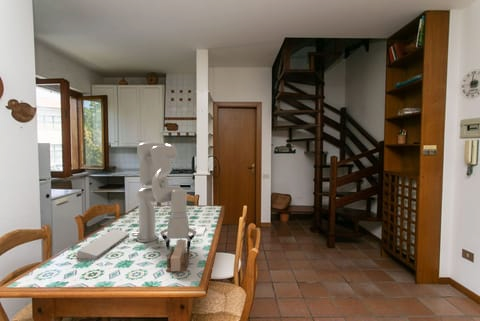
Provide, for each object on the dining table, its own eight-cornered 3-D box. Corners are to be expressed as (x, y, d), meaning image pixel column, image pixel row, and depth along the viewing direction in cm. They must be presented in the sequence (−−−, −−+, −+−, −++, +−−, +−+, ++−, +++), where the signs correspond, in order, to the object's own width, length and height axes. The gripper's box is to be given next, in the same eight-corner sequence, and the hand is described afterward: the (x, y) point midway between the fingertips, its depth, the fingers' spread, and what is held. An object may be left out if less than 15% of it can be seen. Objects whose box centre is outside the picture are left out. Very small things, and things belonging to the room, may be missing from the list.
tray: (202, 237, 161) (202, 231, 161) (159, 238, 161) (158, 232, 160) (206, 227, 181) (206, 221, 181) (167, 228, 181) (167, 223, 181)
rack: (166, 271, 114) (166, 260, 114) (172, 254, 132) (172, 245, 132) (186, 270, 115) (186, 260, 115) (190, 254, 133) (190, 245, 133)
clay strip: (170, 271, 113) (170, 258, 112) (178, 251, 134) (178, 240, 134) (179, 271, 113) (179, 257, 113) (185, 251, 135) (185, 240, 135)
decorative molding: (127, 240, 161) (112, 235, 161) (129, 233, 160) (114, 228, 161) (94, 264, 127) (75, 259, 127) (96, 256, 126) (78, 250, 127)
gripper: (158, 216, 118) (158, 251, 119) (195, 216, 120) (195, 251, 121) (162, 212, 126) (161, 245, 127) (197, 212, 127) (196, 244, 129)
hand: (178, 248), depth 124 cm, fingers open, 9 cm apart
